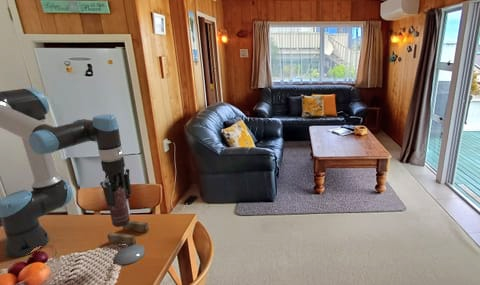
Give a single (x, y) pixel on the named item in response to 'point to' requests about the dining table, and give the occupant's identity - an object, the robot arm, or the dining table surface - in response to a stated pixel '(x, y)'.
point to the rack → (128, 239)
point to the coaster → (130, 254)
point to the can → (119, 208)
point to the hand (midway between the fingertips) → (123, 216)
